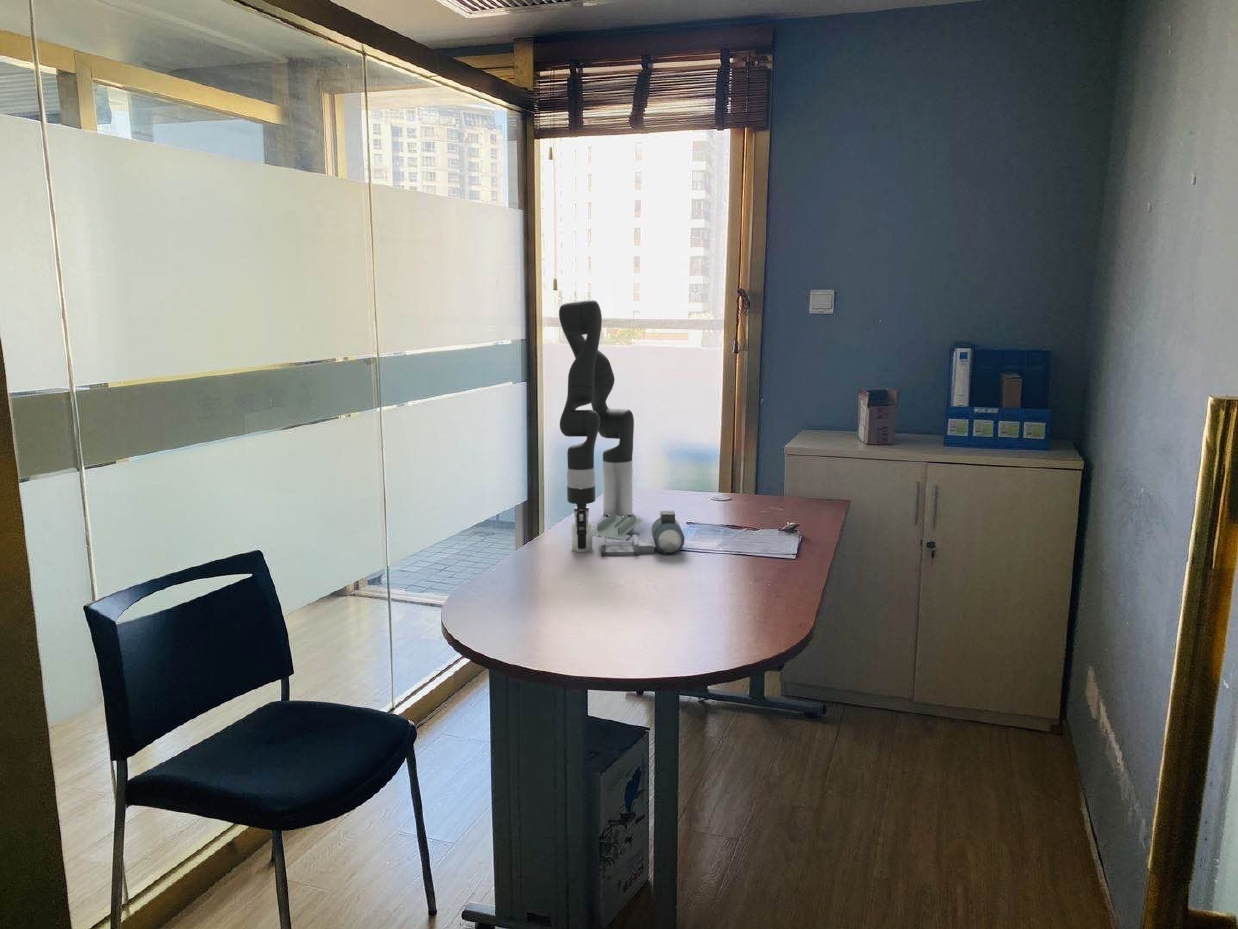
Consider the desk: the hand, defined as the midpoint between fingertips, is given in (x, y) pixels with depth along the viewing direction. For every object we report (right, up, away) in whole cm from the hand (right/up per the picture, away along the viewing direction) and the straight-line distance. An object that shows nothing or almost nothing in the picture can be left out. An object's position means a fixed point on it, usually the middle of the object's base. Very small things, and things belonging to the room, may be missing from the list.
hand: (582, 545), depth 240 cm
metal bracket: (+9, +1, +17) cm, 20 cm away
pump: (0, -1, 0) cm, 1 cm away
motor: (+16, -1, -2) cm, 16 cm away
